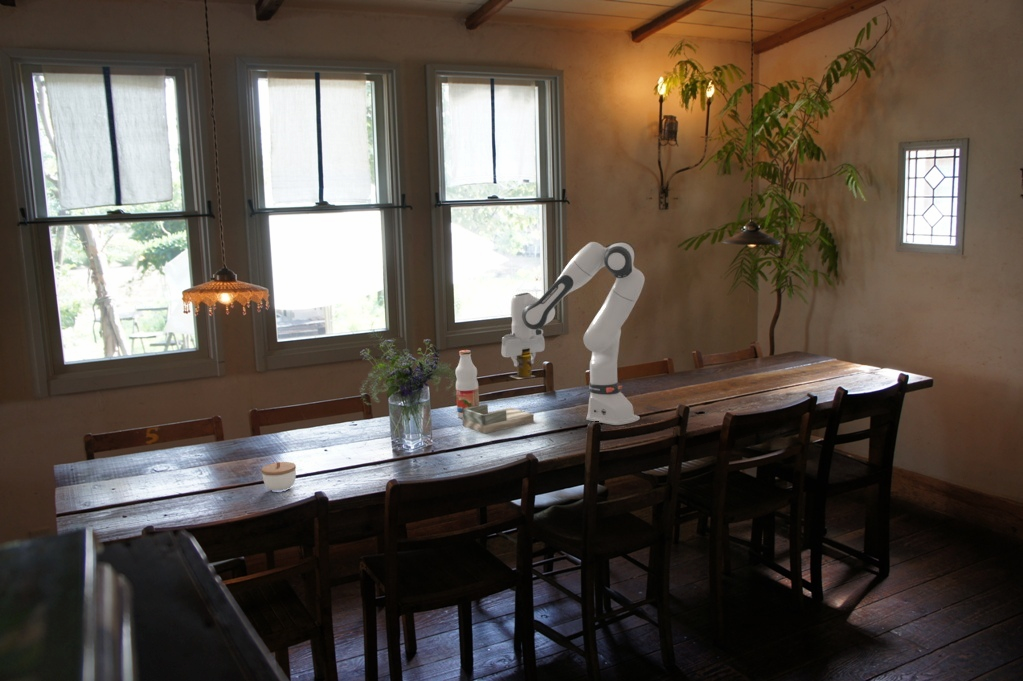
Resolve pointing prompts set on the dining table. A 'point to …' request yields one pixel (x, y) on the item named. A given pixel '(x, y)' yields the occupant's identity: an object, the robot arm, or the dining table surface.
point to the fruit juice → (466, 383)
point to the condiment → (524, 365)
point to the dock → (494, 418)
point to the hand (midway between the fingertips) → (523, 364)
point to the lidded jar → (279, 475)
